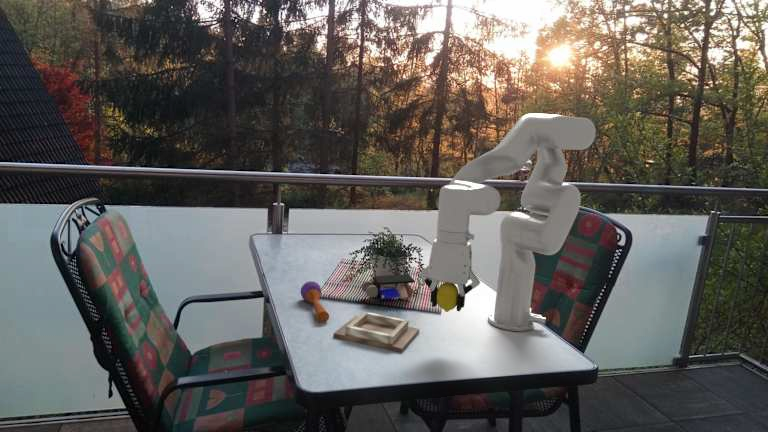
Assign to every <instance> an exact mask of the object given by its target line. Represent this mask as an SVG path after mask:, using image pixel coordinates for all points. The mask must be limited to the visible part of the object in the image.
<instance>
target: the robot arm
mask: <svg viewBox="0 0 768 432" xmlns="http://www.w3.org/2000/svg"><path fill="white" fill-rule="evenodd" d="M596 131H597V130H596V126H595V124H594V122H593V121H592V120H591V119H589V118H587V117H579V116H578V117H577V116H570V115H569V116H568V115H562V114H554V113H553V114H551V113H550V114H549V113H526V114H525V115H522V116H521V117H520V118H519V119H518V120H516V123H515V124H514V125H513V126H511V128H510V129H509V131H508V133H506V135H505V136H504V137H503V139H502V140H501V141H499V143H498V144H497V145H496V147H495V148H493V149H492V150H489V151H488V152H485V153H484V154H482V155H479V156H478V157H475V158H474V159H472V160H471V161H469V162H468V163H466V164H464V166H463V167H461V168H460V169H459V171H457V173H456V174H455V175H454V176H453V178H452V179H451V180H450V181H449V184H446V185H443V186H442V187H441V188H440V190H439V194H438V195H439V197H438V199H439V200H438V211H437V226H436V238H435V239H434V240H433V242H432V246H431V250H430V256H429V260H428V261H429V262H428V265H427V266H426V267H425V268H424V269H423V270H422V271H420V272H419V274H418V275H419V277H420V279H422V281H423V282H424V283H425V285H426V286H427V287H428V290H429V291H430V303H431V307H433V308H435V307H436V306H437V305H438V303H437V298H436V296H437V291H438V288H439V287H438V285H439V283H441V282H442V283H445V282H446V283H452V284H455V285H457V288H458V291H459V295H458V297H457V306H456V312H460V311H461V310H462V309H463V308H465V301H466V295H467V294H469V293H470V292H471V291H472V290H473V289H475V288H476V287H478V286H479V285H480V284H481V281H480V280H479V278H478V277H477V276H476V274H475V273H474V271H473V269H472V268H473V252H472V243H471V242H469V241H474V239H475V234H472V233H470V229H469V228H470V219H471V218H470V216H483V217H484V216H485V217H486V216H490V215H491V214H493V213H495V212H496V211H497V210H498V209H499V207H500V206H501V201H502V199H501V194H500V193H499V192H500V191H498V190H497V189H496V188H495V187H494V186H491V185H487V184H485V183H484V182H485V181H487V180H490V179H494V178H499V177H503V176H508V175H511V174H512V175H513V174H515V173H517V172H520V171H521V170H522V169H523V167H524V166H525V165H526V164H527V163H528V161H529V160H530V159H531V157H533V155H534V153H535V152H537V158H536V159H537V160H536V164H535V166H534V169H533V170H532V173H531V174H530V177H529V178H528V181H527V183H526V184H525V187H524V189H523V191H522V193H521V198H520V203H521V207H523V208H524V209H525V210H526V211H529V212H532V213H527V212H521V211H515V212H510V213H507V215H505V216H504V217H503V218H502V220H501V223H500V225H499V226H500V228H499V229H500V230H499V236H500V262H499V269H498V270H499V271H498V279H497V287H496V297H495V306H494V311H492V312H491V313H489V314H488V317H487V320H488V321H487V322H489V323H490V324H491V325H492V326H494V327H496V328H499V329H502V330H506V331H512V332H526V331H531V330H532V329H533V328H534V327H535V326H534V325H535V323H536V324H538V325H544V326H545V324H546V320H547V319H546V317H543V316H542V314H536V313H534V312H532V310H533V309H532V308H531V305H532V304H531V302H532V296H533V288H534V280H535V272H536V260H535V256H534V253H538V254H541V255H545V256H553V255H555V254H556V253H558V252H559V251H560V250H561V248H562V247H563V245H564V244H565V242H566V239H567V237H568V235H569V233H570V230H571V228H572V226H573V225H574V222H575V220H576V218H577V216H578V213H579V210H580V208H581V207H580V206H581V202H582V201H581V197H582V196H581V192H580V190H579V189H578V187H577V186H575V185H574V184H571V183H567V182H564V179H565V177H566V174H567V173H568V172H567V171H568V165H567V161H566V159H565V156H564V154H563V152H562V150H568V151H569V150H572V151H573V150H576V151H583V150H586V149H588V148H589V147H590V146H591V145H593V143H594V141H595V139H596ZM483 183H484V184H483ZM533 213H535V214H533ZM536 214H540V216H539V215H536ZM541 215H544V216H541ZM545 216H547V217H545ZM533 252H534V253H533ZM469 281H471V283H470V284H468V285H467V283H469Z"/></svg>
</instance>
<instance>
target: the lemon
mask: <svg viewBox="0 0 768 432" xmlns="http://www.w3.org/2000/svg"><path fill="white" fill-rule="evenodd" d="M456 285H457V284H452V283H446V282H442V283H441V284H440V285H439V287H438V291H437V296H436V298H437V303H438V304H437V305H438V307H439V308H440V309H442V310H444V313H445V312H446V313H448V312H450V311H452V310H454V309H455V308H457V297H458V295H459V289H458V286H456Z"/></svg>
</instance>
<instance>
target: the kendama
mask: <svg viewBox="0 0 768 432" xmlns="http://www.w3.org/2000/svg"><path fill="white" fill-rule="evenodd" d="M300 295H301V298H302V299H303V300H304V301H306V302H308V303H311V304H313V306H314V310H315V311H314V312H315V316H316V320H317V322H318V323H326V322H327V321H328V320H329V319H330V315H329V313H328V311H327V310H326V309H325V308H324V307H323V305H322V304H321V303H320V302H319V300H320V299H321V295H322V288H321V286H320V284H318V282H316V281H307V282H305V283H304V284H303V285H302V286H301V288H300Z"/></svg>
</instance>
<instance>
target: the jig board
mask: <svg viewBox="0 0 768 432" xmlns="http://www.w3.org/2000/svg"><path fill="white" fill-rule="evenodd" d="M409 321H410V320H408V319H403V318H399V317H398V318H397V317H394V316H393V317H392V316H389V315H383V314H379V313H374V312H369V311H363V312H362V313H361V314H360V315H359V316H358V315H354V317H352V318H351V319H350V320H348V321H347V322H345V324H344V325H341V327H340V328H338V329H337V330H336V331H334V333H333V338H336V339H341V340H346V341H350V342H354V343H359V344H361V345H367V346H372V347H376V348H381V349H386V350H389V351H390V350H391V351H395V352H398V353H403V352H404V350H406V348H407V347H408V346H409V345H410V343H412V341H414V339H415V337H416V336H418V334H419V333H420V328H418V327H417V328H416V327H412V326H409Z"/></svg>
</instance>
